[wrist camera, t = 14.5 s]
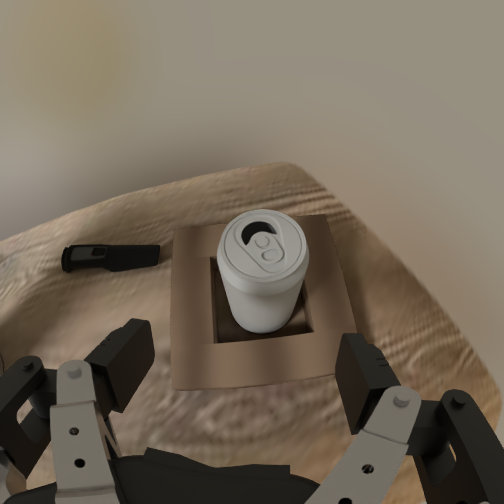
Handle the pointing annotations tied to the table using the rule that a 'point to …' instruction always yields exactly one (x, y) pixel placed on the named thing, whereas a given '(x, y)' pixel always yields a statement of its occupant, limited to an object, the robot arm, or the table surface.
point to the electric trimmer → (110, 257)
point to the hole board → (256, 351)
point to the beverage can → (262, 268)
